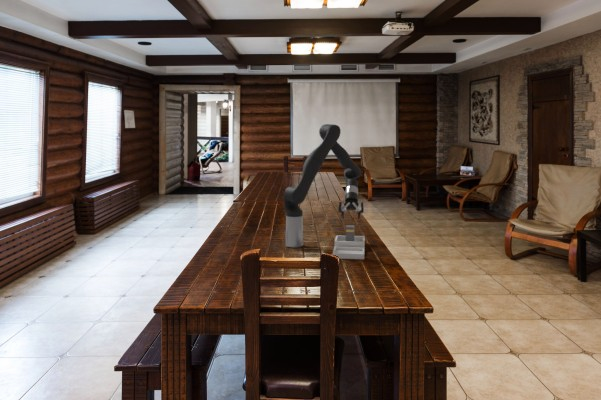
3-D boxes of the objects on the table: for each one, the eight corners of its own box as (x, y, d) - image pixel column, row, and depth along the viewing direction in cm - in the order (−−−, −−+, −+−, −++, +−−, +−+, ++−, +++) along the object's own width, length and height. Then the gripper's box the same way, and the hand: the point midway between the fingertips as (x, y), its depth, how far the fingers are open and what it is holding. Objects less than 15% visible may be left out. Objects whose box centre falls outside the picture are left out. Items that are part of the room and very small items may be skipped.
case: (334, 251, 264) (334, 242, 263) (336, 244, 279) (336, 235, 278) (364, 252, 262) (364, 242, 261) (364, 244, 277) (364, 236, 276)
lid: (332, 258, 250) (332, 253, 250) (334, 251, 264) (334, 246, 263) (364, 259, 248) (364, 254, 247) (364, 252, 262) (364, 247, 261)
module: (345, 246, 269) (345, 227, 267) (346, 244, 274) (346, 225, 272) (353, 247, 268) (354, 227, 266) (354, 244, 273) (354, 225, 271)
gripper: (339, 191, 285) (337, 214, 276) (363, 191, 283) (363, 214, 274) (339, 198, 291) (338, 221, 282) (363, 199, 289) (363, 222, 280)
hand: (350, 218), depth 278 cm, fingers open, 8 cm apart
